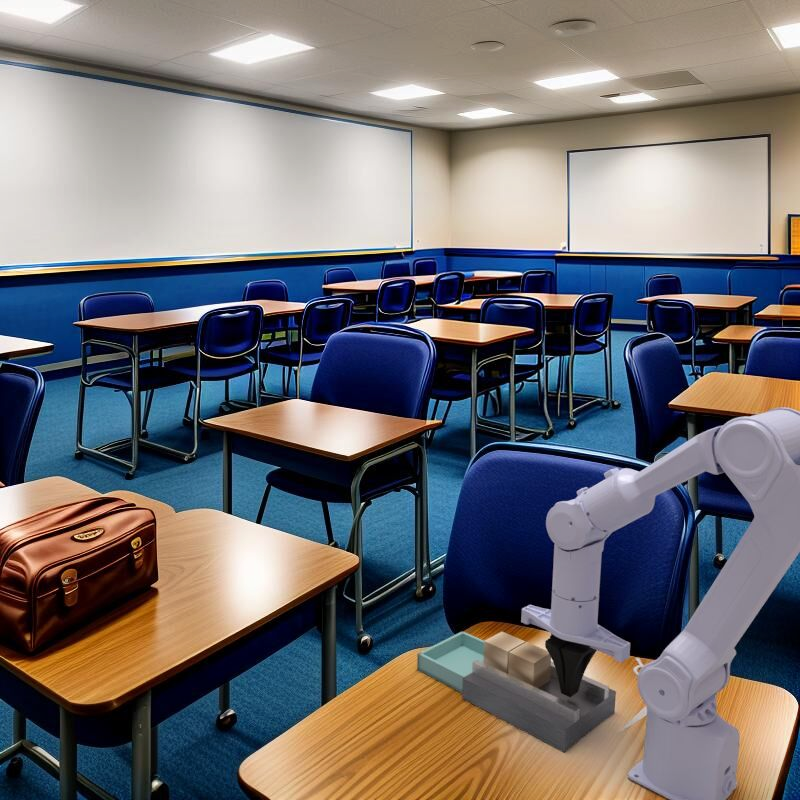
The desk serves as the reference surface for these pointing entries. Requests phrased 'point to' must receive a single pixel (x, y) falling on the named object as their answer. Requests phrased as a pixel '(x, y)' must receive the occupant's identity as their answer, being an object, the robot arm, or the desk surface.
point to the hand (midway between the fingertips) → (569, 692)
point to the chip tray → (451, 659)
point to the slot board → (540, 704)
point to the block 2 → (530, 664)
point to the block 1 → (500, 650)
